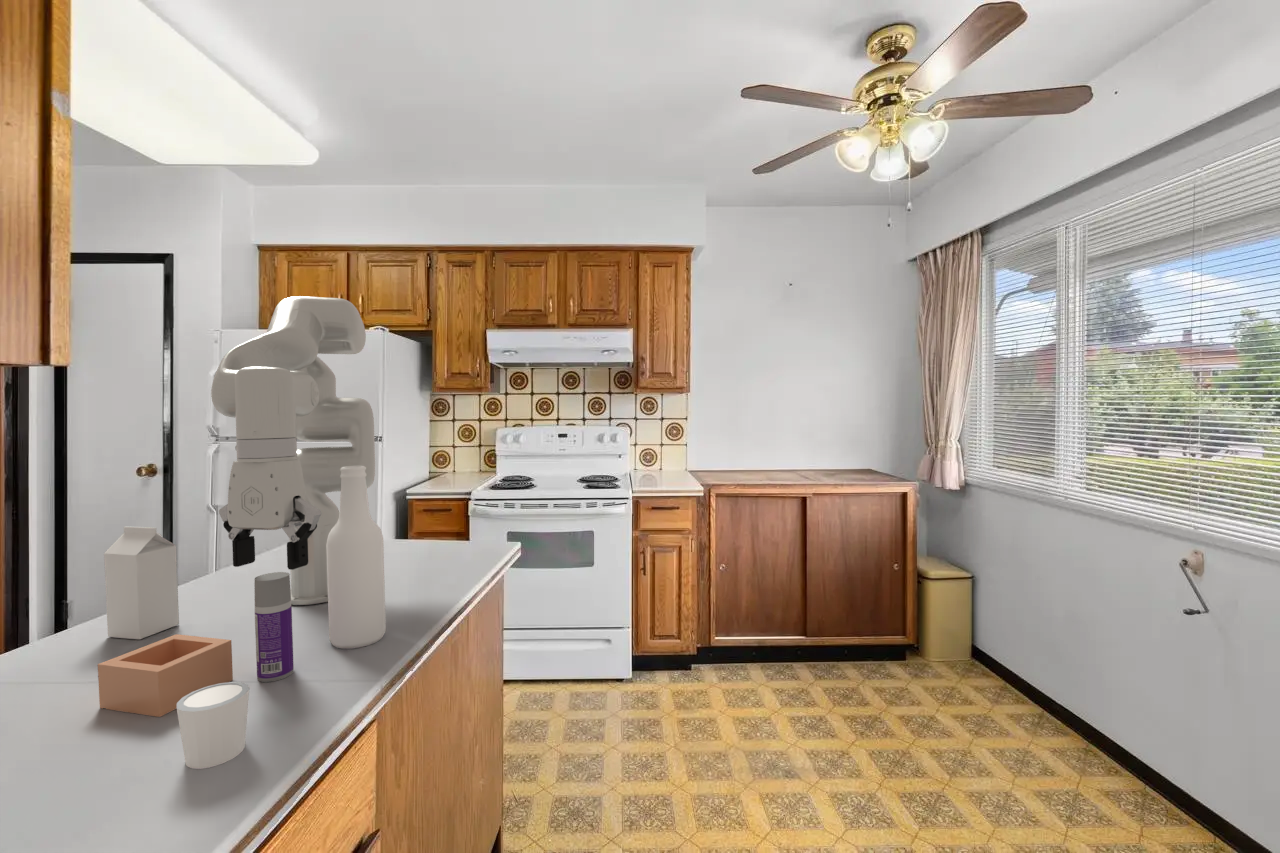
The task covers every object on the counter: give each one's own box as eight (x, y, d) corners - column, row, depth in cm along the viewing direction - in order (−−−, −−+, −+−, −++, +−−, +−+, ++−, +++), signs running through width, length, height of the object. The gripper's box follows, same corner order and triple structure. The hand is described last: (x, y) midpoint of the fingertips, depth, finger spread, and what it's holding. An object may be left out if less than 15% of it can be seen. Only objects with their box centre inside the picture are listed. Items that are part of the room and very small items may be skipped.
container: (301, 670, 89) (297, 573, 88) (272, 684, 84) (269, 582, 84) (278, 665, 90) (275, 570, 90) (249, 679, 86) (245, 579, 85)
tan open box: (177, 673, 88) (176, 634, 88) (232, 679, 86) (231, 640, 85) (99, 708, 78) (97, 664, 78) (159, 717, 76) (157, 671, 75)
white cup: (204, 738, 71) (202, 682, 70) (263, 735, 71) (261, 679, 71) (162, 774, 64) (160, 712, 63) (228, 770, 64) (226, 708, 64)
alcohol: (318, 650, 96) (312, 469, 95) (347, 629, 105) (342, 464, 104) (370, 650, 96) (365, 469, 94) (395, 629, 104) (390, 463, 103)
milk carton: (139, 640, 101) (135, 532, 100) (107, 637, 102) (102, 530, 101) (179, 625, 108) (175, 523, 107) (148, 622, 109) (144, 522, 108)
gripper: (196, 452, 84) (200, 570, 85) (295, 452, 80) (299, 575, 80) (242, 449, 92) (246, 557, 92) (335, 449, 87) (339, 562, 88)
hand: (270, 565), depth 86 cm, fingers open, 9 cm apart
